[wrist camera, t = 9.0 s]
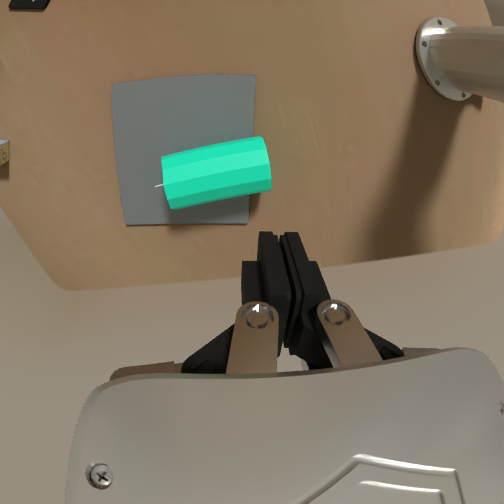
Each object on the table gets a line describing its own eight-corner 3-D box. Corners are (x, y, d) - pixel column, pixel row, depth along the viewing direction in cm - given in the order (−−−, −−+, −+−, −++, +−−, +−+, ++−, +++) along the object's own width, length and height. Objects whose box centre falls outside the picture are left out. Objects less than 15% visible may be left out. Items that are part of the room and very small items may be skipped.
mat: (255, 75, 25) (255, 75, 25) (247, 221, 35) (248, 223, 35) (113, 84, 24) (111, 84, 24) (126, 222, 34) (125, 224, 33)
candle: (257, 138, 30) (156, 159, 30) (264, 133, 25) (141, 160, 24) (266, 187, 32) (167, 208, 32) (274, 194, 27) (154, 218, 26)
